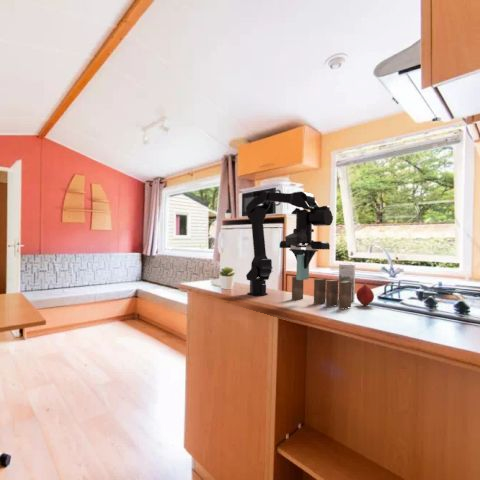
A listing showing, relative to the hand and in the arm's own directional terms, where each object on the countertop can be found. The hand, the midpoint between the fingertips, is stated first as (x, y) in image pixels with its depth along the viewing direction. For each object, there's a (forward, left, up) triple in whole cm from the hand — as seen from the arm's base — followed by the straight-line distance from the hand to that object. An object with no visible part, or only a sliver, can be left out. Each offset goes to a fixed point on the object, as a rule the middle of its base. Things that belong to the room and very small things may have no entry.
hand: (302, 268), depth 111 cm
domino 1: (0, 0, -4) cm, 4 cm away
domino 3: (+4, +6, -13) cm, 15 cm away
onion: (+17, +15, -13) cm, 26 cm away
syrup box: (+7, +21, -13) cm, 25 cm away
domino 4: (+9, +6, -13) cm, 17 cm away
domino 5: (+14, +6, -13) cm, 20 cm away
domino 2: (-6, +6, -13) cm, 15 cm away
